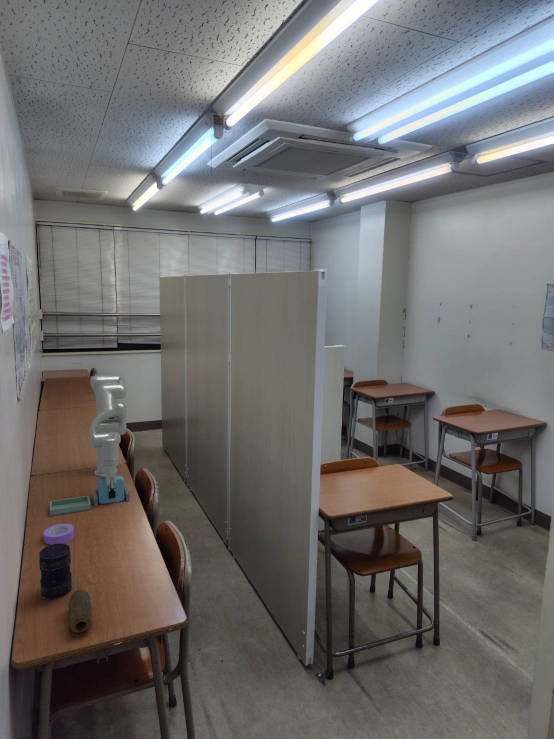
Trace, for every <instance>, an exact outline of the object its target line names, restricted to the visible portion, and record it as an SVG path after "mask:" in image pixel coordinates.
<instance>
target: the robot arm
mask: <svg viewBox="0 0 554 739" xmlns="http://www.w3.org/2000/svg"><path fill="white" fill-rule="evenodd" d="M89 383H90V386H91V388H92V390H93V392H94V395H95V411H96V412H95V413H96V416H95V417H94V418H93V420H92V421H91V424H90V427H89V436H90V437H89V439H90V446H91V447H92V448H93V449H96V450H95V451H96V469H95V470H94V472H93V474H94V476H96V477H100V478H104V477H105V485H106V486H109V491H108V497H109V499H112V498H115V485H116V476H117V473H118V468H117V466H118V465H119V445H120V443H121V438H122V437H121V436H123V435H125V434H126V432H127V407H126V403H125V401H122V400H123V399H126V396H127V387H126V386H127V385H126V381H125V378H124V376H123V375H122V374H100V375H93V376H91V378H90V380H89ZM110 484H111V485H110ZM110 486H111V487H110Z"/></svg>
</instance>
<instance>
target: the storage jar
mask: <svg viewBox="0 0 554 739" xmlns="http://www.w3.org/2000/svg"><path fill="white" fill-rule="evenodd" d="M71 556H72V555H71V548H70V545H68V544H66V543H63V544H53V545H48V546H45V547H43V548H42V549H41V550H40V551H39V553H38V557H39V560H38V562H39V570H40V580H39V581H40V583H39V584H40V590H41V597H42V596H43V597H45V598H47V599H46V600H56V598H58V599H61V598H64V597H65V596H67V595H68V594H69V593H70V592H71V591H72V589H73V585H72V582H73V578H72V576H73V575H72V571H71V564H72V557H71ZM43 597H42V598H43ZM60 597H61V598H60ZM45 598H44V599H45Z"/></svg>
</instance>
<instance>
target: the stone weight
mask: <svg viewBox="0 0 554 739" xmlns="http://www.w3.org/2000/svg"><path fill="white" fill-rule="evenodd" d="M69 597H70V598H69V602H68V622H69V624H68V625H69V627H70V630H71V632H73V633H75V634H79V633H83V632H86V631H88V630H89V629H90V628H91V626H92V623H93V622H92V619H93V618H92V616H93V615H92V603H91V597H90V593H89V592H88V591H87V590H85V589H78V590H75V591H74V592H73V593H72V594H71V595H70V596H69Z"/></svg>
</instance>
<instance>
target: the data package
mask: <svg viewBox="0 0 554 739" xmlns="http://www.w3.org/2000/svg"><path fill="white" fill-rule="evenodd" d="M110 485H111V484H110ZM124 485H125V478H124V477H123V476H122V475H116V485H115V498H112V499H109V497H108V491H109V486H106V485H105V477H100V478H98V480H97V489H98V494H99V498H98V504H100V505H104V504H105V505H106V504H110V503H111V504H113V503H120V501H121V502H123V501H124V500H125V496H124ZM110 487H111V486H110ZM112 502H113V503H112Z"/></svg>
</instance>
